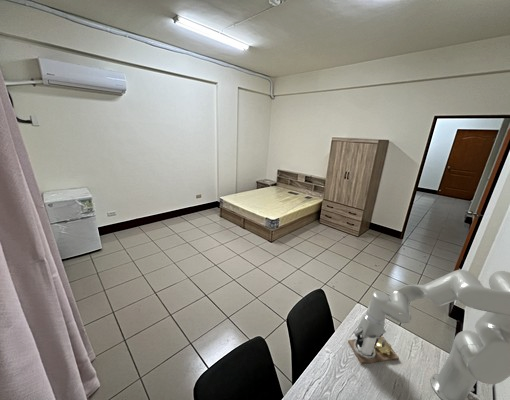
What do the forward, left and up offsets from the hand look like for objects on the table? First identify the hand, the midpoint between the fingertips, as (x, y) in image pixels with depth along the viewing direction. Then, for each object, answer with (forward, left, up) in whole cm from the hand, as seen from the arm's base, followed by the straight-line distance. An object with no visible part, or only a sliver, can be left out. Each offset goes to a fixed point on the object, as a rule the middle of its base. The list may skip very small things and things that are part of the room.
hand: (366, 343), depth 104 cm
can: (0, 0, -4) cm, 4 cm away
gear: (-10, 0, -4) cm, 11 cm away
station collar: (0, 0, -4) cm, 4 cm away
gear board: (-5, 0, -6) cm, 8 cm away
